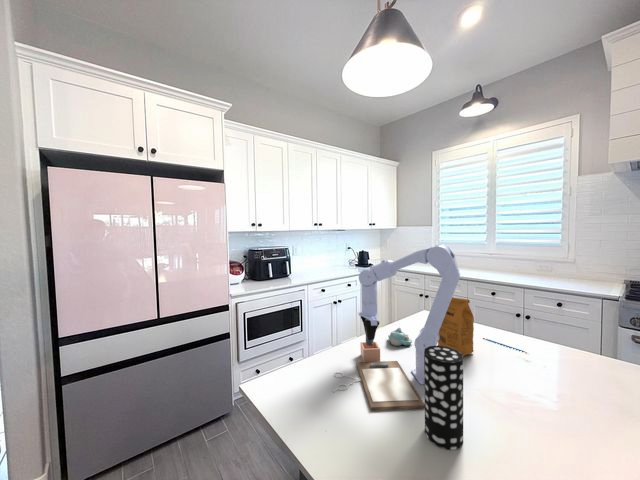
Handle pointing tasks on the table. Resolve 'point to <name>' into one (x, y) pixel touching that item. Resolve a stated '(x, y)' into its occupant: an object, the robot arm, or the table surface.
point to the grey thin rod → (502, 344)
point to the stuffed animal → (399, 338)
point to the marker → (368, 342)
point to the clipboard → (388, 386)
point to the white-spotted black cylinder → (443, 396)
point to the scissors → (345, 384)
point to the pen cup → (370, 352)
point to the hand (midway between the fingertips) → (369, 337)
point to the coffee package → (457, 327)
